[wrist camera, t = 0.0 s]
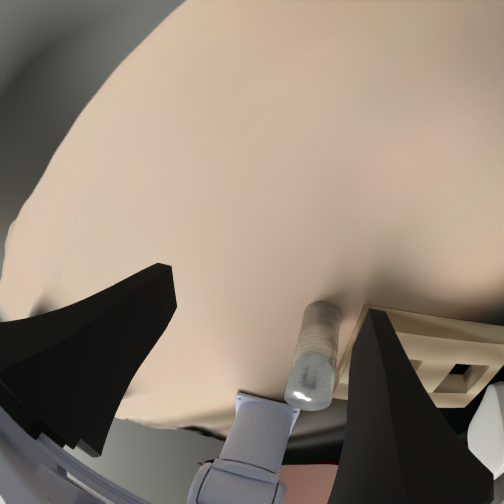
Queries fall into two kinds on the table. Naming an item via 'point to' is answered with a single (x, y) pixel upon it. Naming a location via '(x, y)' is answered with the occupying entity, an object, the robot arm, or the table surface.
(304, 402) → the pin
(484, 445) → the cable organizer
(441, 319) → the socket block
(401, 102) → the table surface
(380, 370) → the robot arm
